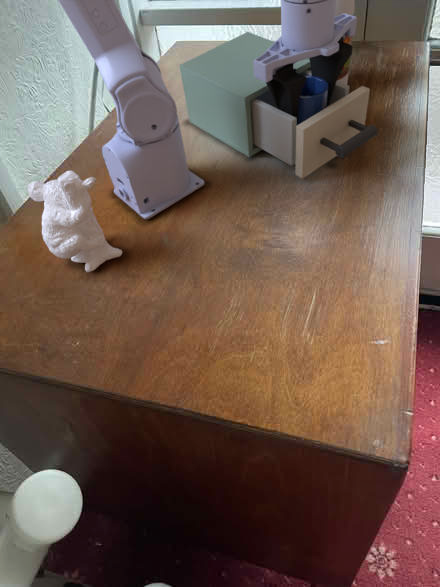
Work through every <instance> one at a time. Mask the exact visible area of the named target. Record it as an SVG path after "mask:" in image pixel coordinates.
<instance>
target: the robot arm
mask: <svg viewBox="0 0 440 587" xmlns="http://www.w3.org/2000/svg"><path fill="white" fill-rule="evenodd" d="M57 1H58V3H59V5H60V6H61V8H62V9H63V11H64V13H65V14H66V16H67V18H68V19H69V21H70V23H71V24H72V26H73V28H74V29H75V31H76V33H77V34H78V36H79V37H80V40H81V42H82V43H83V44H84V46H85V48H86V49H87V51H88V52H89V54H90V56H91V57H92V59H93V61H94V63H95V65H96V67H97V69H98V71H99V74H100V76H101V78H102V80H103V82H104V85H105V86H106V89H107V91H108V92H109V94H110V95H111V97H112V100H113V103H114V107H115V111H116V118H117V122H116V126H115V127H116V133H115V134H114V135H113V137H112V138H111V139H110V140H109V141H108V142H106V143H105V144H104V145H103V146H102V148H101V155H102V157H103V160H104V163H105V166H106V169H107V172H108V174H109V177H110V179H111V182H112V185H113V188H114V189H113V194H115V195H116V196H117V197H118V198H119V199H120V200H122V201H123V202H124V203H125V204H126V205H127V206H129V207H130V208H131V209H132V210H133V211H134V212H135V213H136V214H138V215H139V216H140V217H141V218H143V219H144V220H149V219H151V218H153V217H154V216H156V215H158V214H159V213H161V212H162V211H164V210H165V209H167V208H169V207H171V206H173V205H174V204H175V203H177V202H179V201H181V200H182V199H184V198H186V197H187V196H189V195H190V194H192V193H193V192H195V191H197V190H199V189H200V188H201V187H203V186H204V185H205V180H204V179H202V178H201V177H199V176H198V175H197V174H195V173H194V172H192V171H191V170H189V165H188V160H187V156H186V150H185V146H184V142H183V141H184V140H183V136H182V131H181V125H180V122H179V121H180V120H179V116H178V108H177V104H176V102H175V99H174V98H173V96H172V95H171V93H170V92H169V90H168V88H167V85H166V83H165V81H164V79H163V77H162V73H161V69H160V67H159V65H158V63H157V61H156V60H155V59H154V58H153V57H152V56H150V55H149V54H148V53H146V52H145V51H144V50H142V48H141V47H140V45H139V44H138V42H137V39H136V38H135V36H134V34H133V33H132V32H131V30H130V28H129V26H128V24H127V22H126V20H125V19H124V16H123V14H122V13H121V10H120V9H119V6H118V4H117V2H116V1H115V0H57ZM335 7H336V0H280V28H281V30H280V32H281V34H280V36H279V37H278V38H277V39H276V41H274V42H275V43H274V44H273V45H272V46H271V47H270V48H269V49H268V50H267V51H266V52H265V53H263V54H262V55H261V56H260V57H258V58H256V59H255V60H253V64H254V77H255V78H257V79H259V80H261V81H263V82H266V84H267V86H268V87H269V89H270V91H271V93H272V95H273V98H274V100H275V103H276V106H277V109H279V110H281V111H283V112H285V113H287V114H289V115H291V116H293V117H295V118H297V119H298V109H299V100H300V95H301V91H302V88H303V85H304V83H305V81H306V79H307V77H306V76H303V75H301V74H298V73H296V69H293V64H294V63H296V62H298V61H301V60H305V59H308V58H309V60H310V65H311V74H312V76H315V77H319V78H322V79H324V80H325V81H326V82H327V83H328V97H327V106H328V104H329V102H330V99H331V96H332V93H333V90H334V87H335V84H336V82H337V79H338V77H339V75H340V73H341V71H342V69H343V67H344V65H345V64H346V62H347V60H348V59H349V58H350V59H351V56H352V55H353V44H351V45H350V44H348V43H345V42H343V38H344V36H347V37H351V36H352V37H353V36H355V35H356V32H357V31H356V30H357V24H358V22H357V21H358V16H356V15H354V16H352V15H349V14H345V13H343V14H341V15H339V16H337V17H335Z"/></svg>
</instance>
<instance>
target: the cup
mask: <svg viewBox="0 0 440 587" xmlns="http://www.w3.org/2000/svg"><path fill="white" fill-rule="evenodd" d="M306 77H307V79H306V81H305V83H304V85H303V88H302V91H301V95H300V100H299V109H298V119H297V125H299V124H300V123H302V122H304V121H305V120H307V119H309V118H310V117H312V116H314V115H315V114H317V113H319V112H320V111H322V110H323V109H325V108H327V97H328V83H327V82H326V81H325V80H324V79H322V78H319V77H315V76H306Z"/></svg>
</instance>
